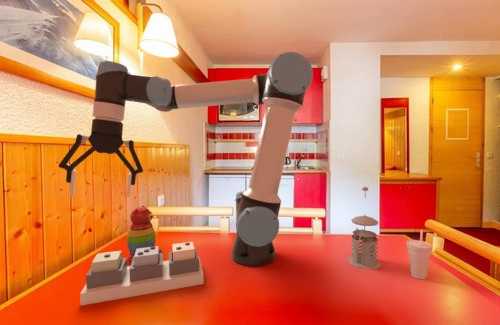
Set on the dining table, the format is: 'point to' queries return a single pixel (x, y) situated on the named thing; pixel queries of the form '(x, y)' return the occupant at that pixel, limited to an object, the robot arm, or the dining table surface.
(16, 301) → the dining table surface
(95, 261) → the button one dot
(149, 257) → the button three dot
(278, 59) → the robot arm
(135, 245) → the stacking bear
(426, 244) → the smoothie
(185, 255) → the button two dot
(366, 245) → the french press
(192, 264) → the button panel
